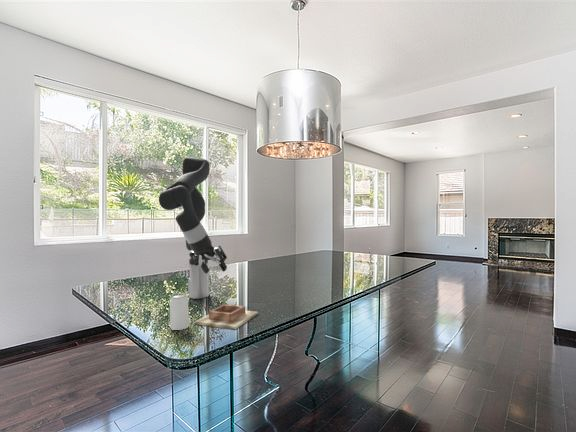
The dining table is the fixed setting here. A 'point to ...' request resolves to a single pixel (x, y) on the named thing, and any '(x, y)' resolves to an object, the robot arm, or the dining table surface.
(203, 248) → the robot arm
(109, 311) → the dining table surface
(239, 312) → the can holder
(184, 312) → the can
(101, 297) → the dining table surface
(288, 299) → the dining table surface
